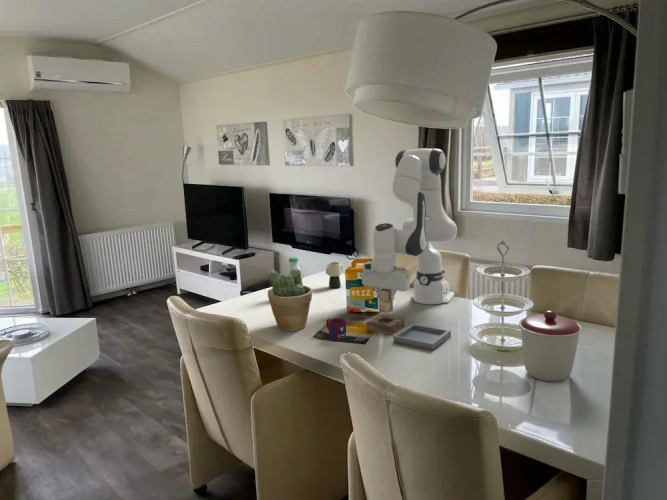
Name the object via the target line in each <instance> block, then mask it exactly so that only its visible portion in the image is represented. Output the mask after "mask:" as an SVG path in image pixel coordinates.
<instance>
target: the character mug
mask: <svg viewBox="0 0 667 500" xmlns="http://www.w3.org/2000/svg"><path fill="white" fill-rule="evenodd" d="M343 268H344V267H343V265H342V263H341V262H340V261H329V262H327V263H326V268H325V275H328V276H329V280H328V281H329V282H328V287H329V288H332V287H333V288H337V287H338V288H340V287H341V286H342V285H341V279H340V276H341V275H342V271H343Z"/></svg>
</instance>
